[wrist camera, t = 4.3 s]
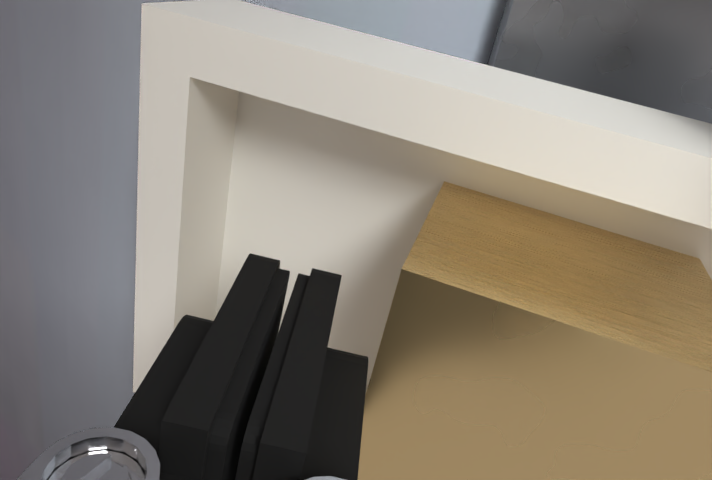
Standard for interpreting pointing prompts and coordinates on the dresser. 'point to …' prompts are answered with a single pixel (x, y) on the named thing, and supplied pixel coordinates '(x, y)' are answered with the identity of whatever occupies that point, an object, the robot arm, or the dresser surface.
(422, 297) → the block
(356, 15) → the dresser surface
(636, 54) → the stand
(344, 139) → the beam
